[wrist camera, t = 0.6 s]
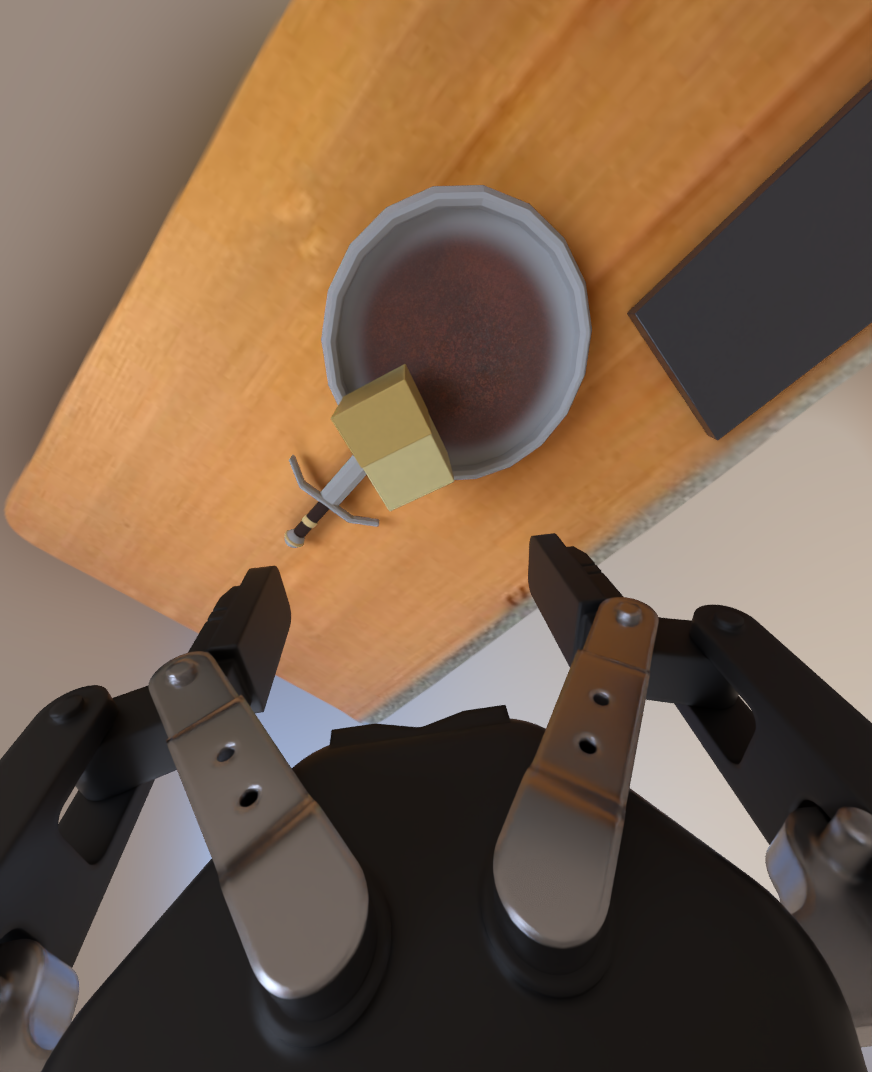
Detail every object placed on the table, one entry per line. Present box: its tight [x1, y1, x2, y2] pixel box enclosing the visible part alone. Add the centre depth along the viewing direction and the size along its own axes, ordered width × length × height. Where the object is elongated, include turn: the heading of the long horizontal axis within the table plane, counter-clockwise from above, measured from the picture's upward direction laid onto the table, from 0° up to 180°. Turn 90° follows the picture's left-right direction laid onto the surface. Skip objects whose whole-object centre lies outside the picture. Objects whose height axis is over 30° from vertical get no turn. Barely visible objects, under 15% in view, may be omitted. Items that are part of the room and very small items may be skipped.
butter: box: [331, 364, 454, 511], centre depth 25 cm, size 4×6×5 cm
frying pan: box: [285, 185, 592, 548], centre depth 28 cm, size 17×3×28 cm
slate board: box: [627, 80, 872, 440], centre depth 25 cm, size 20×12×1 cm, turn 136°
